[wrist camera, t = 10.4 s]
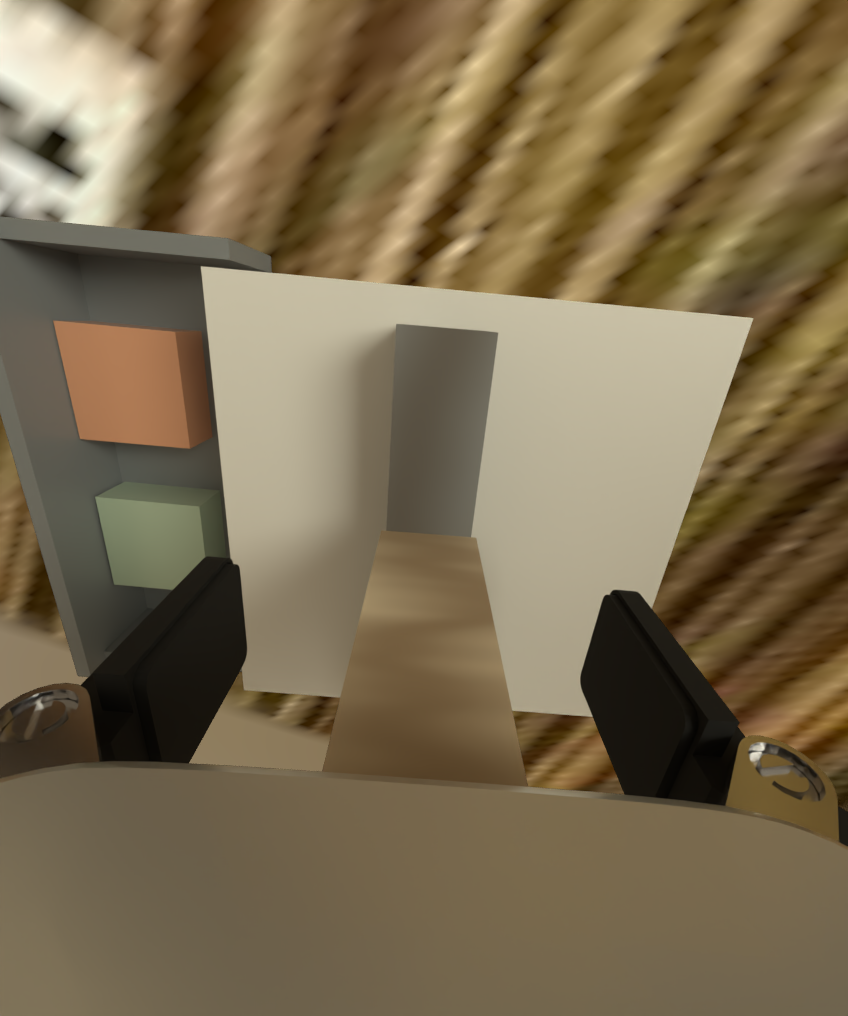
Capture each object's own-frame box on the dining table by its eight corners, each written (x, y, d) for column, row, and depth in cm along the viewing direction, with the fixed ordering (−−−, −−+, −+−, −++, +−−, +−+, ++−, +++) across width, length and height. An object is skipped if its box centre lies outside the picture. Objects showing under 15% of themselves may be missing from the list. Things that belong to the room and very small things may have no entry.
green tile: (95, 496, 19) (125, 481, 21) (114, 584, 21) (140, 563, 22) (199, 506, 19) (219, 490, 21) (209, 592, 21) (227, 571, 23)
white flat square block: (655, 320, 18) (753, 318, 13) (572, 629, 24) (613, 718, 19) (272, 283, 18) (200, 266, 12) (286, 606, 24) (243, 690, 19)
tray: (270, 256, 17) (213, 232, 13) (287, 620, 25) (254, 689, 20) (70, 237, 17) (-61, 205, 13) (144, 609, 24) (77, 676, 20)
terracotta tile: (53, 320, 16) (92, 320, 18) (79, 439, 18) (112, 428, 20) (175, 331, 16) (201, 331, 18) (189, 448, 18) (212, 436, 20)
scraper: (491, 331, 13) (670, 353, 3) (445, 687, 18) (461, 1092, 9) (397, 323, 13) (293, 323, 3) (379, 683, 18) (322, 1084, 9)
